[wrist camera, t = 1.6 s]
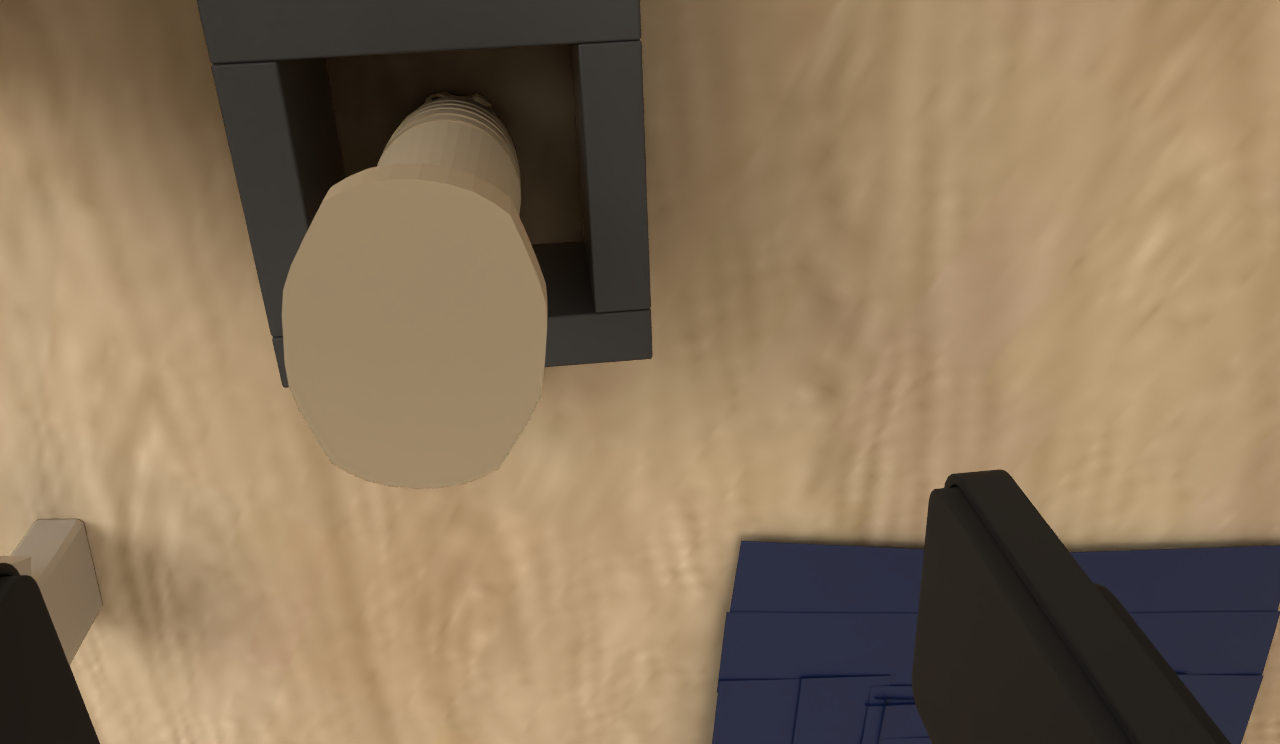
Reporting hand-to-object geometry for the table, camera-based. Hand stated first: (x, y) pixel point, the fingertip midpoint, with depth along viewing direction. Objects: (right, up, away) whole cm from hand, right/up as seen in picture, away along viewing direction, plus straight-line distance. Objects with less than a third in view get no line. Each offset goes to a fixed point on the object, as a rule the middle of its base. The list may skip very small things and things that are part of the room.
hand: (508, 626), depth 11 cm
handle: (-4, +10, +22) cm, 24 cm away
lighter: (-20, -3, +27) cm, 34 cm away
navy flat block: (+16, -17, +38) cm, 45 cm away
